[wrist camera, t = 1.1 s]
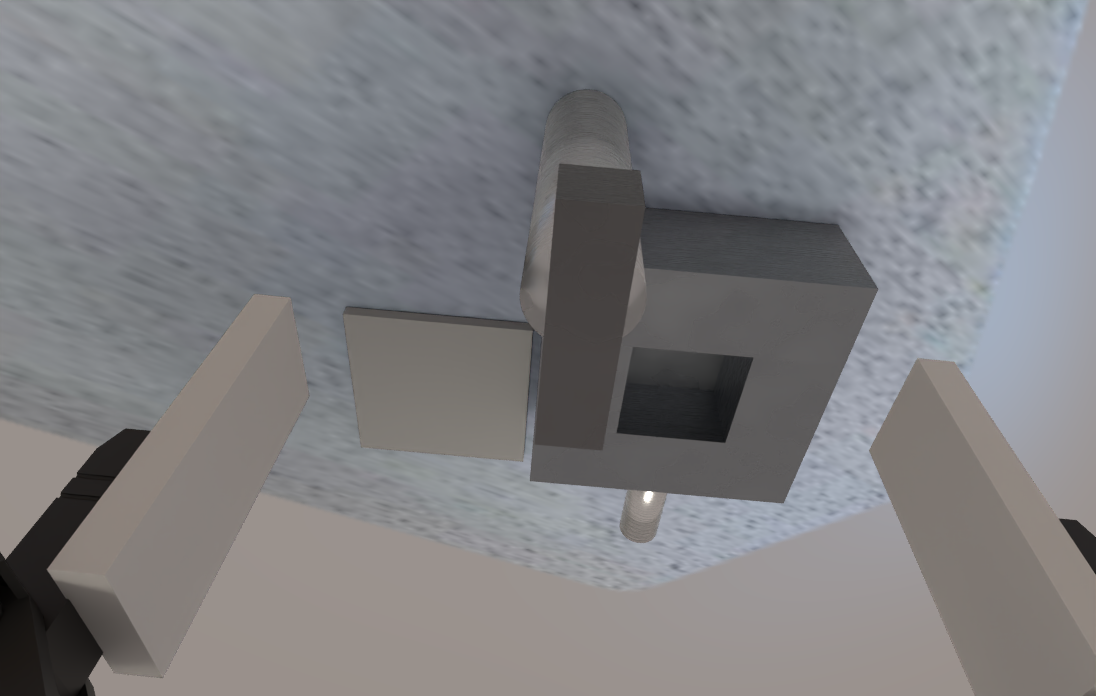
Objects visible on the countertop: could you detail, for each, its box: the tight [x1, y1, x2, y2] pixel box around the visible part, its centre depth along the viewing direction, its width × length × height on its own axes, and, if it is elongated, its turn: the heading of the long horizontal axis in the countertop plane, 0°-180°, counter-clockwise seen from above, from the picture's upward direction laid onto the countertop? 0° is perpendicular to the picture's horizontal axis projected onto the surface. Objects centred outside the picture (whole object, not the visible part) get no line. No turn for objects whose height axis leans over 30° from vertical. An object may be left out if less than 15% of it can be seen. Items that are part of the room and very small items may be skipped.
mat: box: [343, 307, 533, 462], centre depth 35 cm, size 9×9×1 cm
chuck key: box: [520, 90, 647, 451], centre depth 21 cm, size 7×3×14 cm, turn 176°
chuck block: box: [530, 208, 878, 543], centre depth 32 cm, size 12×17×5 cm
